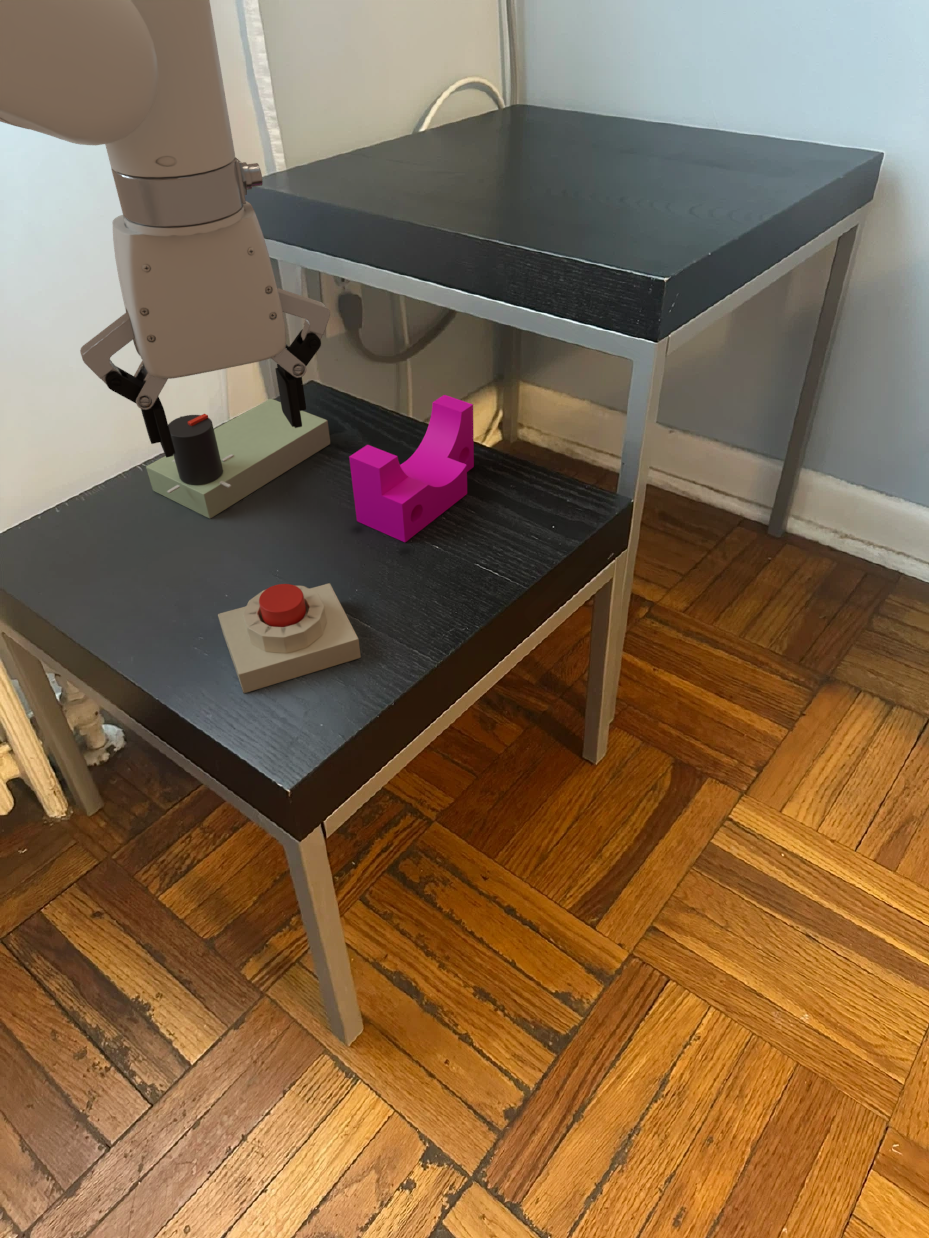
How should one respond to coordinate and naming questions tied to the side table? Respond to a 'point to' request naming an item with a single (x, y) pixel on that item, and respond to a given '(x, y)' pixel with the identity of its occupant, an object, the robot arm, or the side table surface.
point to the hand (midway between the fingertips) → (231, 433)
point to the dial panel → (244, 458)
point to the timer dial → (195, 449)
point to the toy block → (416, 474)
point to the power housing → (289, 640)
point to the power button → (282, 605)
